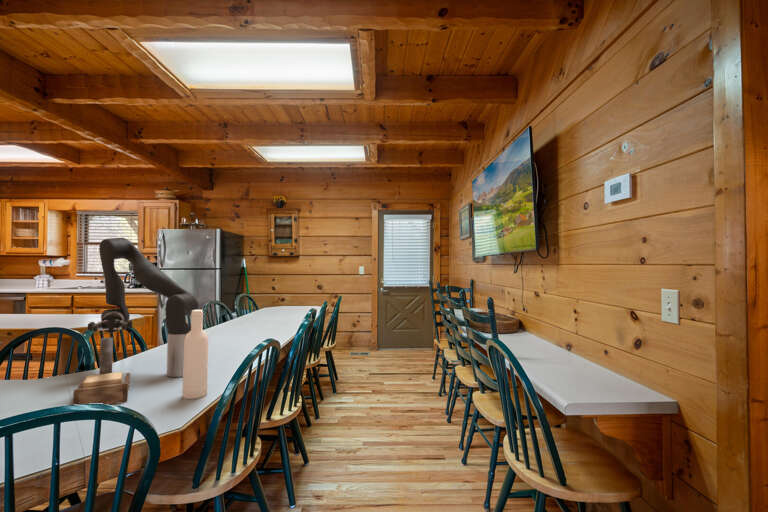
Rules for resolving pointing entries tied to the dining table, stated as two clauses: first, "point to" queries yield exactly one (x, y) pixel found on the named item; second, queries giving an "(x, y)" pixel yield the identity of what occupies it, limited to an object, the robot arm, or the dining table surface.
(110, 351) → the wooden block with post
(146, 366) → the dining table surface
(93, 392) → the bay
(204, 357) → the bottle
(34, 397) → the dining table surface
